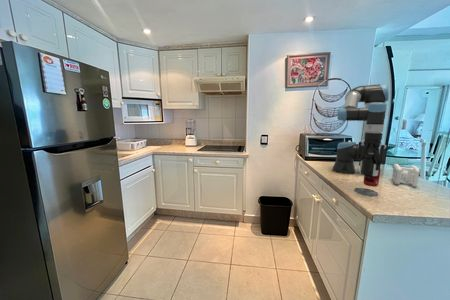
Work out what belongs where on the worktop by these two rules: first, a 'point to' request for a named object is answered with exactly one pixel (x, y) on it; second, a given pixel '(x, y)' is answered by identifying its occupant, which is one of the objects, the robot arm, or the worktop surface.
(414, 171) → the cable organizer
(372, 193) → the coaster
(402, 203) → the worktop surface
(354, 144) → the robot arm
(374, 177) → the canned food
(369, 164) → the supplement bottle
